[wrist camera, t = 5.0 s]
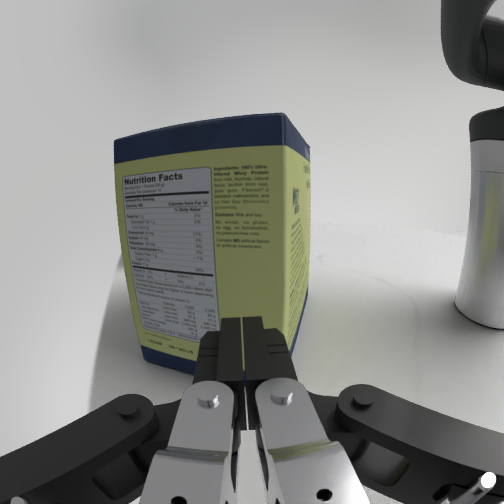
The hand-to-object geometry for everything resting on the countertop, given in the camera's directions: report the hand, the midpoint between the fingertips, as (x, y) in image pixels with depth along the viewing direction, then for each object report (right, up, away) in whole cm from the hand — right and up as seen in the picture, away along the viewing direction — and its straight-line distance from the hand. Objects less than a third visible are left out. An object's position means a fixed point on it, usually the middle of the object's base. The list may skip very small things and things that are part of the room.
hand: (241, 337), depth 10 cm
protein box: (-1, -3, +14) cm, 14 cm away
